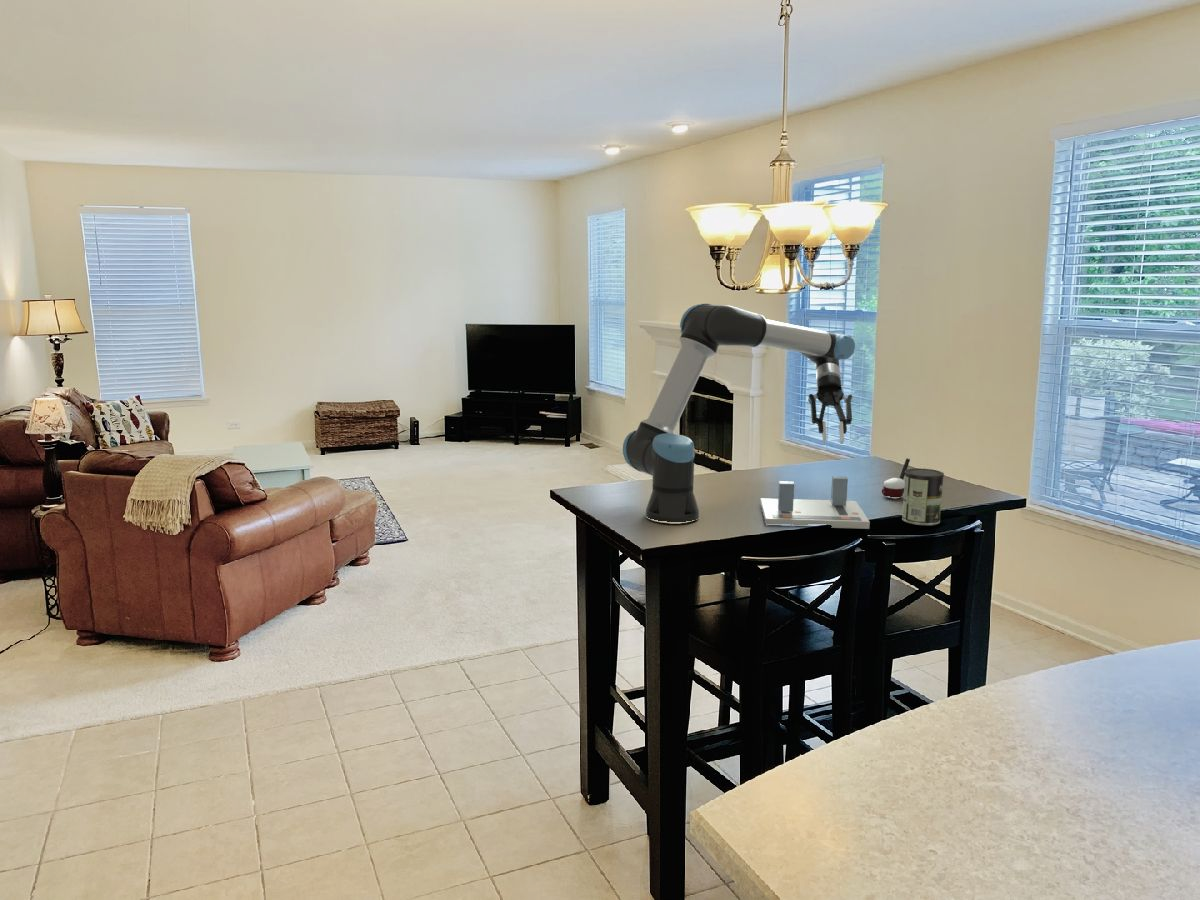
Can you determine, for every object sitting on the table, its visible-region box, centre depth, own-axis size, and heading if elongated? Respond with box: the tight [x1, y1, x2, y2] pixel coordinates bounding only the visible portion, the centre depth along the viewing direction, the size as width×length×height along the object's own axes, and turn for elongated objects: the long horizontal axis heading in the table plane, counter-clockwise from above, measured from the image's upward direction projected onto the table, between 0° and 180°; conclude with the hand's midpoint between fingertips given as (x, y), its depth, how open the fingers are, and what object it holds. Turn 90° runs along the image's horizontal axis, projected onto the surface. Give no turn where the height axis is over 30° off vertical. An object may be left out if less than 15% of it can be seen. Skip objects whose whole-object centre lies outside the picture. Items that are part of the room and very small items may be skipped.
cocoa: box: [881, 458, 911, 498], centre depth 269 cm, size 10×6×12 cm, turn 90°
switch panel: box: [759, 497, 871, 530], centre depth 250 cm, size 28×22×2 cm
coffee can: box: [901, 467, 945, 526], centre depth 245 cm, size 10×10×14 cm
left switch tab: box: [777, 480, 795, 511], centre depth 247 cm, size 4×3×8 cm
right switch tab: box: [830, 475, 849, 506], centre depth 253 cm, size 4×3×8 cm
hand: (833, 441), depth 265 cm, fingers open, 4 cm apart
